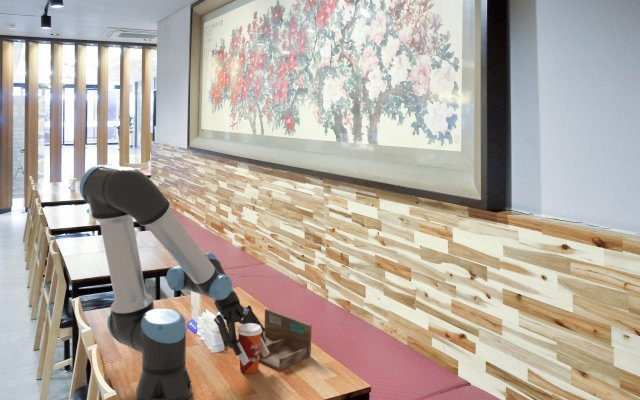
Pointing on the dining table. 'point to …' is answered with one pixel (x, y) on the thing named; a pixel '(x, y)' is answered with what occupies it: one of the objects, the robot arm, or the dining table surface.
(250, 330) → the paper cup
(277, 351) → the rack
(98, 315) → the dining table surface
